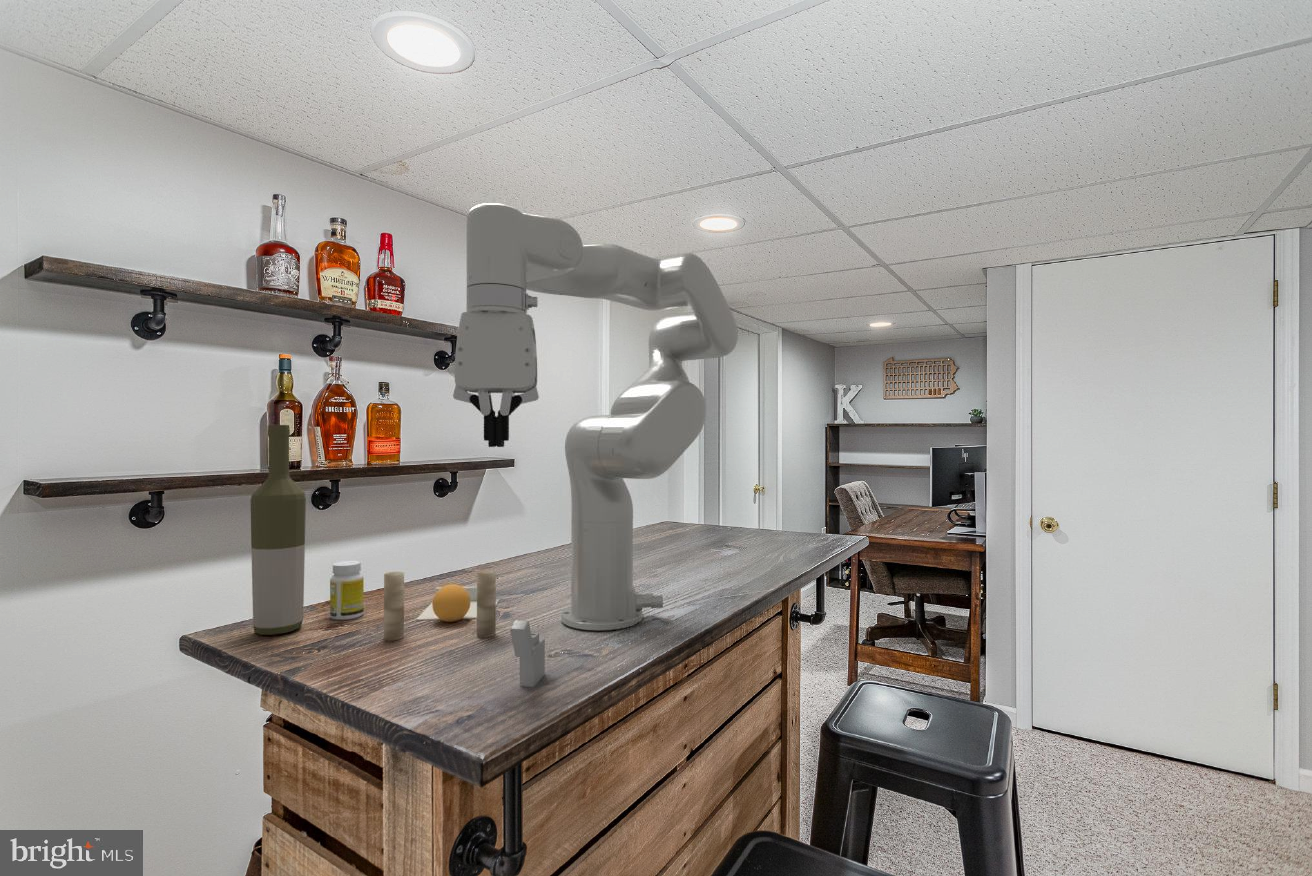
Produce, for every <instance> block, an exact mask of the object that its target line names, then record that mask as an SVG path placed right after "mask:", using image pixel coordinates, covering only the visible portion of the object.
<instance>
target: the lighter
mask: <svg viewBox="0 0 1312 876" xmlns="http://www.w3.org/2000/svg"><path fill="white" fill-rule="evenodd" d="M530 626H531V625H530V621H528V620H517V619H516V620H514V621H513V623H512V625H511V627H510V629H509V632H510V636H511V637H510V638H511V641H512V647H513V650H514V652H513V653H514V656H515V657H516V658H519V686H520V687H531V688H533V687H535V686H536V685H537V684H538V683H539V682H540V680H541V679H542V678H543V677H544V676H545V674H546V671H545V670H546V668H545V667H546V664H545V663H546V661H545V660H546V654H545V653H546V647H545V645H546V642H545V641H546V639H545V637H540V632H536V631H535V632H532V631H531V627H530Z"/></svg>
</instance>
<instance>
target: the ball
mask: <svg viewBox="0 0 1312 876" xmlns="http://www.w3.org/2000/svg"><path fill="white" fill-rule="evenodd" d="M441 587H442V588H441V589H439V590H438V591H437V593H436V594H435V593H434V596H433V599H432V602H431V603H432V607H433V611H434V613H435V615H436V616H437V617H438V618H439V619H441V621H443V622H447V623H451V622H452V623H454V622H457V621H459V620H462V619H461V618H463V617H464V616H465V615H466V614H467V612H468V610H469V608H470V603H471V600H470V596H469V593H468V592H467V590H466V589H465V588H463V587H464V586H462V585H459V584H454V583H453V584H452V583H450V584H446V585H444V586H441Z"/></svg>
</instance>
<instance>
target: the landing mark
mask: <svg viewBox="0 0 1312 876" xmlns="http://www.w3.org/2000/svg"><path fill="white" fill-rule="evenodd" d="M499 602H500V599H499V598H498V599H497V598H496V606H497V605H498V603H499ZM415 619H416V621H432V620H433V621H436V620H437V621H438V620H439V621H440V620H441V619H439V618H438V617H437V616H436V615H435V613H434V611H433V607H432V602H431V603H430V604H429V605H428V606H427V607H426V608H425V609H424V610H423V611H422V612H421V613H420V614H419V616H418V617H416V618H415ZM472 619H474V620H475V619H476V620H477V601H471V603H470V608H469V610H468V612H467V614H466V615H465V616H464V617H463V618H461V619H460V620H472ZM441 621H442V620H441Z"/></svg>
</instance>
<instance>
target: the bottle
mask: <svg viewBox="0 0 1312 876" xmlns="http://www.w3.org/2000/svg"><path fill="white" fill-rule="evenodd" d="M267 427H268V428H267V436H268V476H267V479H265V480H264V482H263V483H262V484H261V485H260V486H259V487H258V488H257V489H256V490H255V491H254V492H253V493H252V494H251V497H250V541H251V543H250V545H251V547H250V548H251V552H250V553H251V586H252V587H251V588H252V589H251V590H252V591H251V592H252V593H251V595H252V627H253V631H254V633H257V634H258V635H263V636H277V635H278V634H279V635H283V634H288V632H289V633H290V632H293V631H295V630H298V629H300V628H302V625H303V621H304V607H305V606H304V603H305V600H304V599H305V598H304V597H305V596H304V595H305V557H306V555H305V554H306V516H307V515H306V510H307V508H306V507H307V506H306V505H307V504H306V503H307V497H306V493H305V491H304V490H303V489H302V488H301V487H300V486H299V485H298V484H297V483H296V482H295V480H293V479H292V478H291V475H290V436H291V429H290V424H268V425H267Z"/></svg>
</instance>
